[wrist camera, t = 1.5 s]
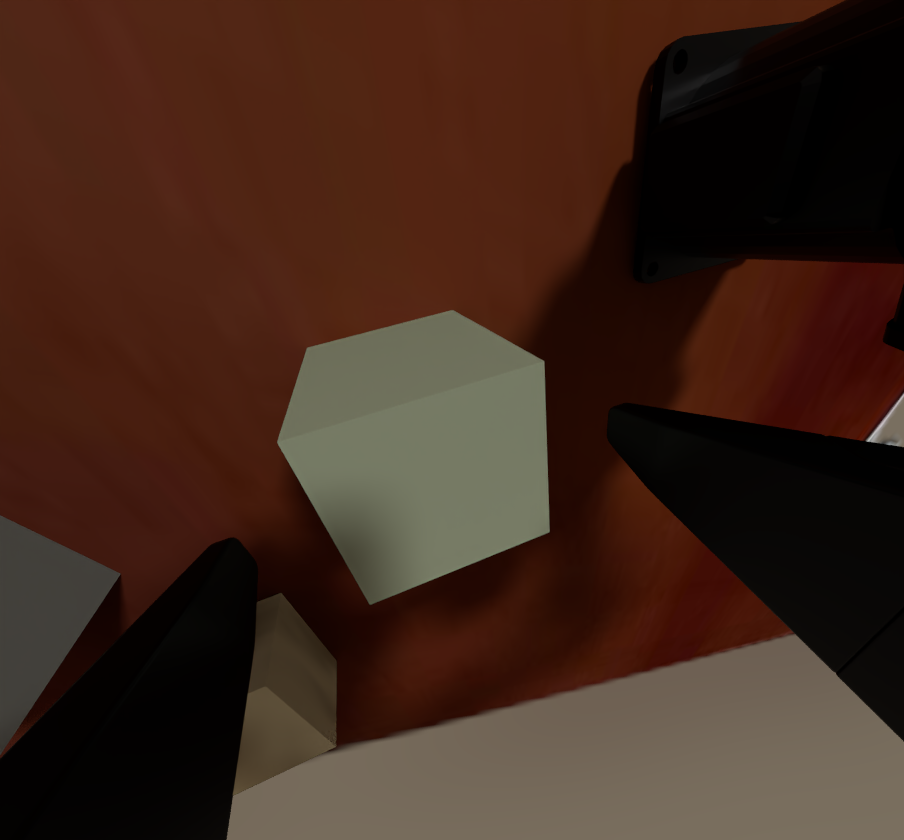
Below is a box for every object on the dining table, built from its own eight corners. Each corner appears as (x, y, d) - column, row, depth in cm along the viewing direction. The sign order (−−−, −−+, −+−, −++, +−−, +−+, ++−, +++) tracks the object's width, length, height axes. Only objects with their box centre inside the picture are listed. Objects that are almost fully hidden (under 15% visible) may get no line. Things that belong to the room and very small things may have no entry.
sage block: (452, 309, 11) (544, 360, 6) (472, 427, 14) (549, 532, 9) (307, 347, 10) (277, 442, 5) (357, 465, 13) (370, 605, 8)
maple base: (281, 588, 15) (265, 686, 12) (336, 656, 19) (336, 746, 15) (115, 651, 14) (44, 781, 10) (208, 711, 17) (177, 822, 14)
